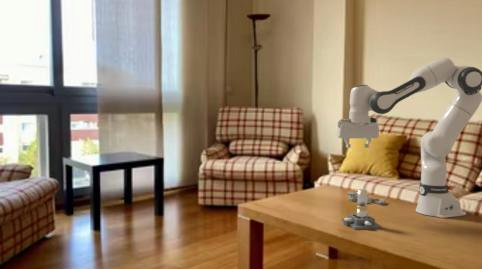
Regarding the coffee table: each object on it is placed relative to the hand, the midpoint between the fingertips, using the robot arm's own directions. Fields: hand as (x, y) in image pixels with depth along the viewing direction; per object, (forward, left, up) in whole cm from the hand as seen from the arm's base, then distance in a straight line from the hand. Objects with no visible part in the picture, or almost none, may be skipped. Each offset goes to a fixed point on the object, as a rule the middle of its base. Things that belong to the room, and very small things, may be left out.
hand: (357, 147), depth 199 cm
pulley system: (-13, -20, -32) cm, 40 cm away
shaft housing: (+7, +20, -31) cm, 38 cm away
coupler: (+7, +20, -30) cm, 37 cm away
